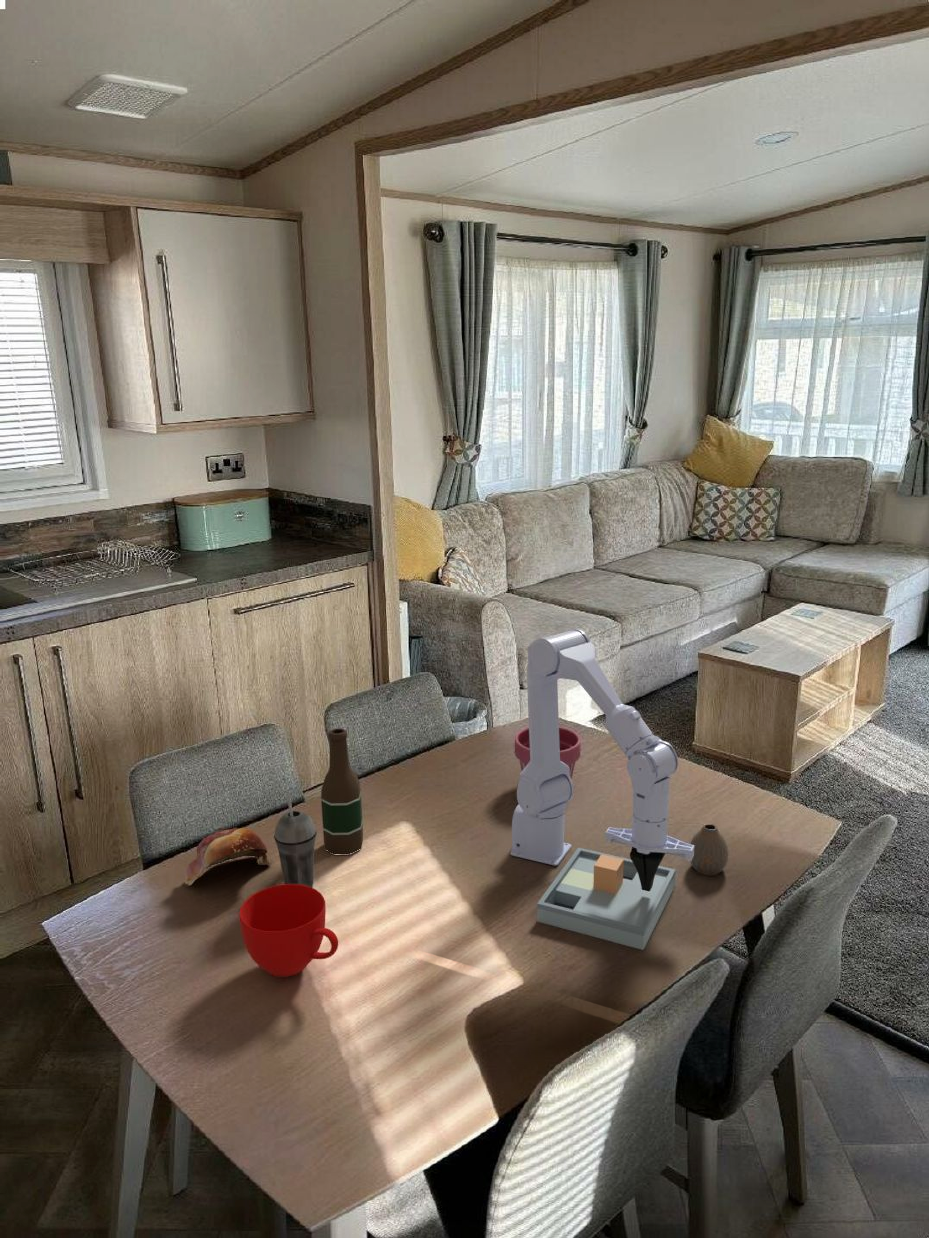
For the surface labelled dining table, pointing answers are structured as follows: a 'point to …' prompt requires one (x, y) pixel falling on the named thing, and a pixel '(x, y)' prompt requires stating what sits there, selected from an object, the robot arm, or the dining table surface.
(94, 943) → the dining table surface
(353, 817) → the beer bottle
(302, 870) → the beverage cup
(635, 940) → the box
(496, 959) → the dining table surface
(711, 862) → the vase
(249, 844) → the brown arched piece
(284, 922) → the ceramic cup
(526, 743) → the plant pot
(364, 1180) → the dining table surface
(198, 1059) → the dining table surface
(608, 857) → the block
